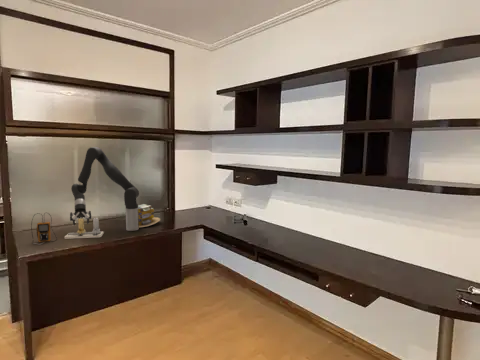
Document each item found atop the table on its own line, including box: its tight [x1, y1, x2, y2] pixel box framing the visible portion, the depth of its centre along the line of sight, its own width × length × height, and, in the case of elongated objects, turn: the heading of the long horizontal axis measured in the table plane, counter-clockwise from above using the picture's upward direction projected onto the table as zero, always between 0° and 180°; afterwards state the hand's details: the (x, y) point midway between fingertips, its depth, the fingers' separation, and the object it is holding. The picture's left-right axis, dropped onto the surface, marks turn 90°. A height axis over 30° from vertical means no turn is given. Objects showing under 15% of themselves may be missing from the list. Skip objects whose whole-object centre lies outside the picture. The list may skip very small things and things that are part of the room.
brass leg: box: [76, 217, 86, 235], centre depth 235 cm, size 4×6×11 cm
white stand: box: [64, 217, 105, 240], centre depth 237 cm, size 24×10×13 cm, turn 102°
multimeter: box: [30, 212, 58, 246], centre depth 220 cm, size 15×10×20 cm
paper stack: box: [138, 203, 161, 228], centre depth 272 cm, size 25×25×17 cm
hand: (81, 224), depth 237 cm, fingers open, 8 cm apart
